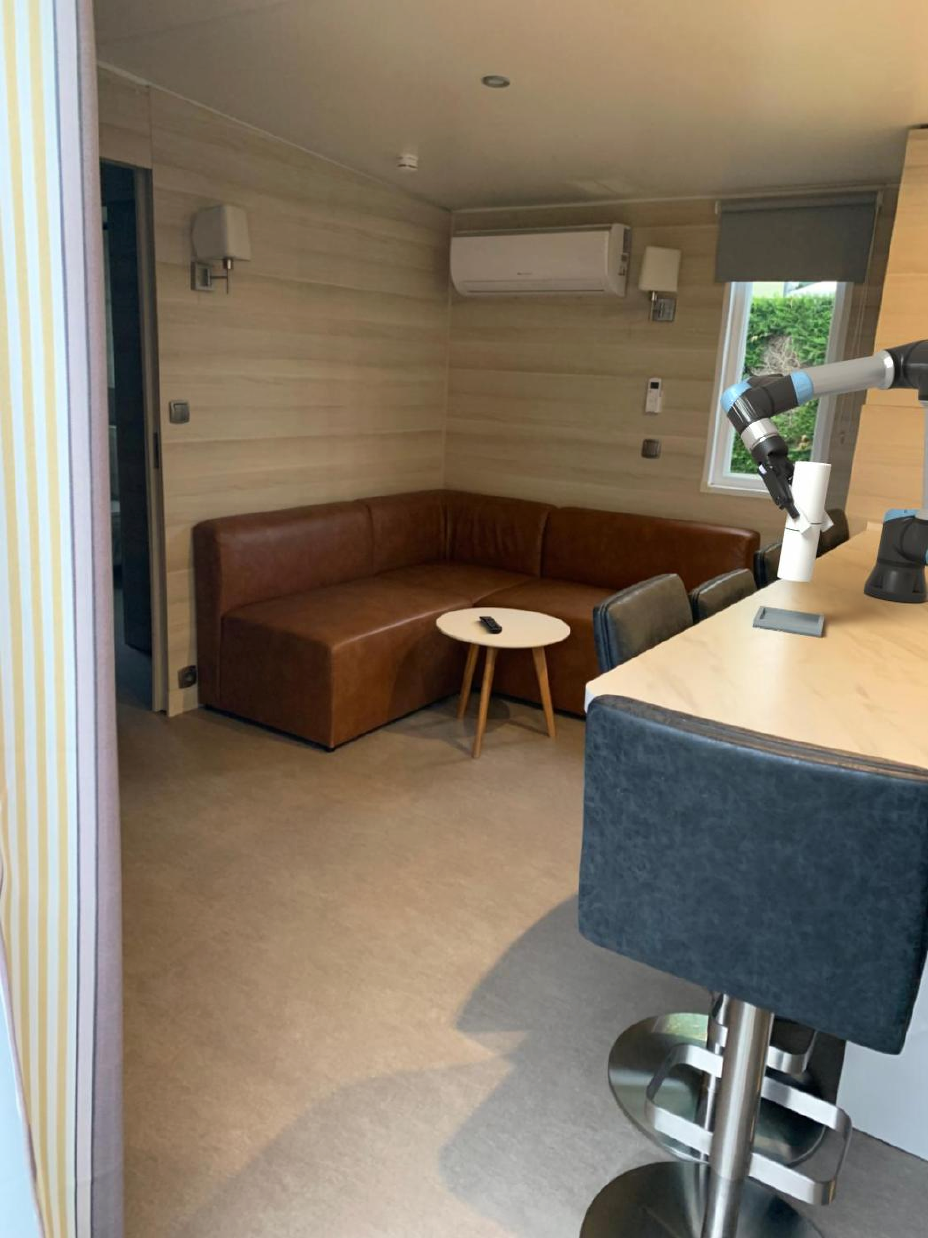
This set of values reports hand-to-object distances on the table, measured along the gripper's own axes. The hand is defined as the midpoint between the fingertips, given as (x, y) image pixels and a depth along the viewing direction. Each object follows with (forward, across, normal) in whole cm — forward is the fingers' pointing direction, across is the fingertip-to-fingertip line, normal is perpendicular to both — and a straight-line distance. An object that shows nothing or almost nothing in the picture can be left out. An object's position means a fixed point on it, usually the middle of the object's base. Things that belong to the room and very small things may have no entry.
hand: (817, 528), depth 190 cm
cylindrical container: (+6, 0, -11) cm, 12 cm away
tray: (+13, 0, -18) cm, 22 cm away
